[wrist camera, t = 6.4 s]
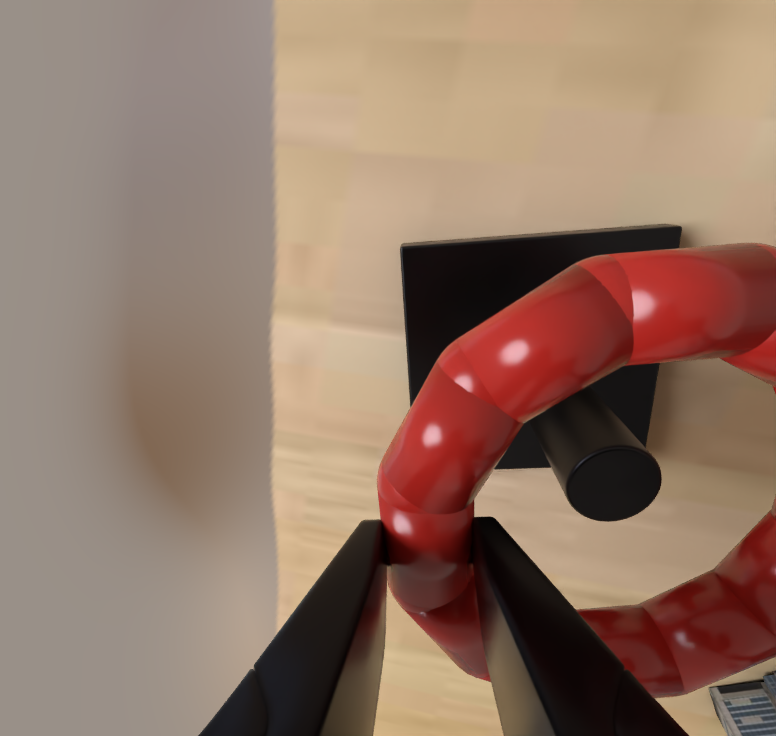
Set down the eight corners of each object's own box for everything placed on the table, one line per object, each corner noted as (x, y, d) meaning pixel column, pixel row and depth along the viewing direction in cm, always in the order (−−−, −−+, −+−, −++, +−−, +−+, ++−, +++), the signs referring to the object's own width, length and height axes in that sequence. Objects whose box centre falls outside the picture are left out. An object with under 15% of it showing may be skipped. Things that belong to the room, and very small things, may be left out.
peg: (666, 223, 15) (922, 257, 7) (631, 451, 18) (782, 631, 11) (400, 243, 15) (389, 293, 8) (414, 459, 19) (415, 633, 11)
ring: (931, 219, 8) (1089, 226, 6) (781, 625, 11) (852, 699, 10) (357, 266, 8) (353, 286, 6) (396, 658, 11) (401, 739, 10)
